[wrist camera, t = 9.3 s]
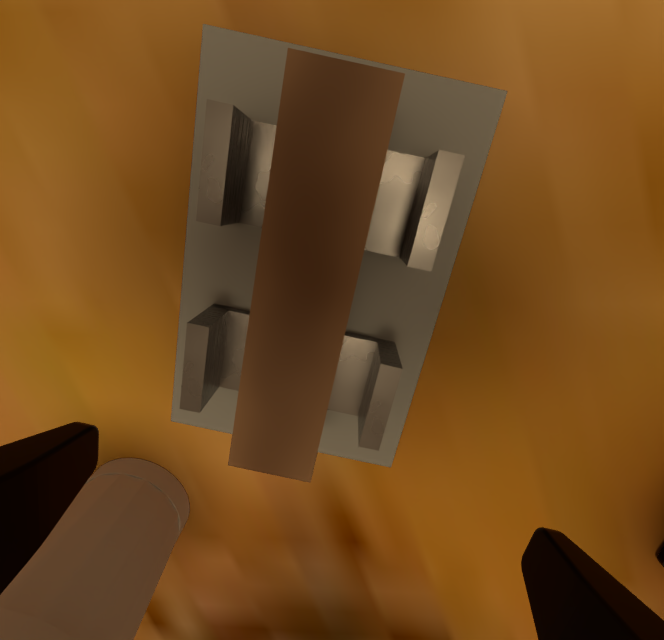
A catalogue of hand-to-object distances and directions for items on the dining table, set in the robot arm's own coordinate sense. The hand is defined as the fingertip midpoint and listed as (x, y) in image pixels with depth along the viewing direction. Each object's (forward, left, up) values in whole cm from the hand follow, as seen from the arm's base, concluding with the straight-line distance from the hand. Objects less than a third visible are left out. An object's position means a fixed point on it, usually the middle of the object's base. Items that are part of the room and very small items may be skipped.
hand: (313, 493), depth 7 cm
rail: (+2, -2, -10) cm, 10 cm away
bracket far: (+2, +2, -11) cm, 11 cm away
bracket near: (+2, -6, -11) cm, 12 cm away
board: (+2, -2, -12) cm, 12 cm away
